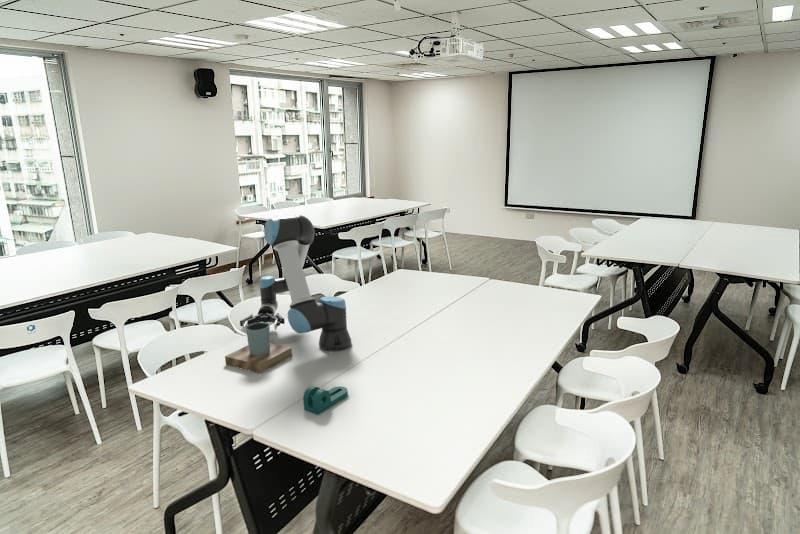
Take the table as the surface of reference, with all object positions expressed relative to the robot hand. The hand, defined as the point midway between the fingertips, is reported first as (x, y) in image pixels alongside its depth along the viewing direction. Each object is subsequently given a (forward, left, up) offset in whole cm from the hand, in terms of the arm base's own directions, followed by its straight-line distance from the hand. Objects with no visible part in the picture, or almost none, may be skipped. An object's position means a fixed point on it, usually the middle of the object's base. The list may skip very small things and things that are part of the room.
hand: (259, 328), depth 227 cm
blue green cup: (-5, +6, -8) cm, 12 cm away
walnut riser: (-5, +7, -12) cm, 15 cm away
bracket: (-55, +23, -12) cm, 61 cm away
